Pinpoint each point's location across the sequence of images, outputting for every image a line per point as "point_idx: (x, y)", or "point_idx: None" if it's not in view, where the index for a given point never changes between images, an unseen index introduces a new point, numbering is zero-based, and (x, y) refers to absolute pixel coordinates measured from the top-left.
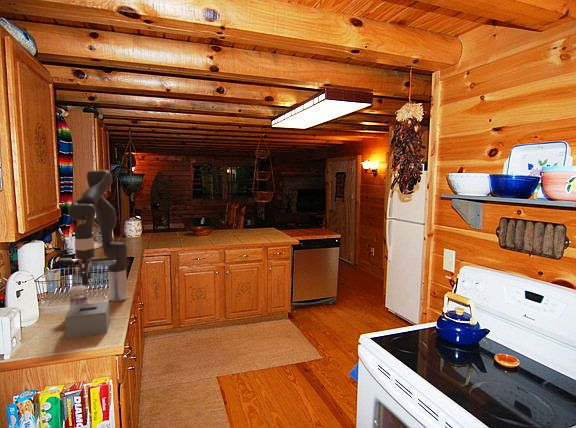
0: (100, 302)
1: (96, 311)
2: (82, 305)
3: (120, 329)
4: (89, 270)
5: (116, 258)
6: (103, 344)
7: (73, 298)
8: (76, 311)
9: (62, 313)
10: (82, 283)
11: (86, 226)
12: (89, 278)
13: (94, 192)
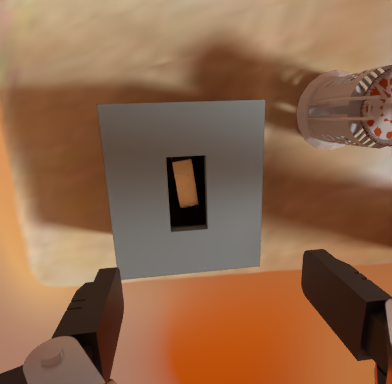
0: (257, 233)
1: (141, 238)
2: (246, 157)
3: None
4: (375, 359)
5: None
6: (43, 240)
7: (386, 84)
8: (168, 145)
9: (374, 38)
10: (97, 276)
11: None
12: (304, 283)
13: None
